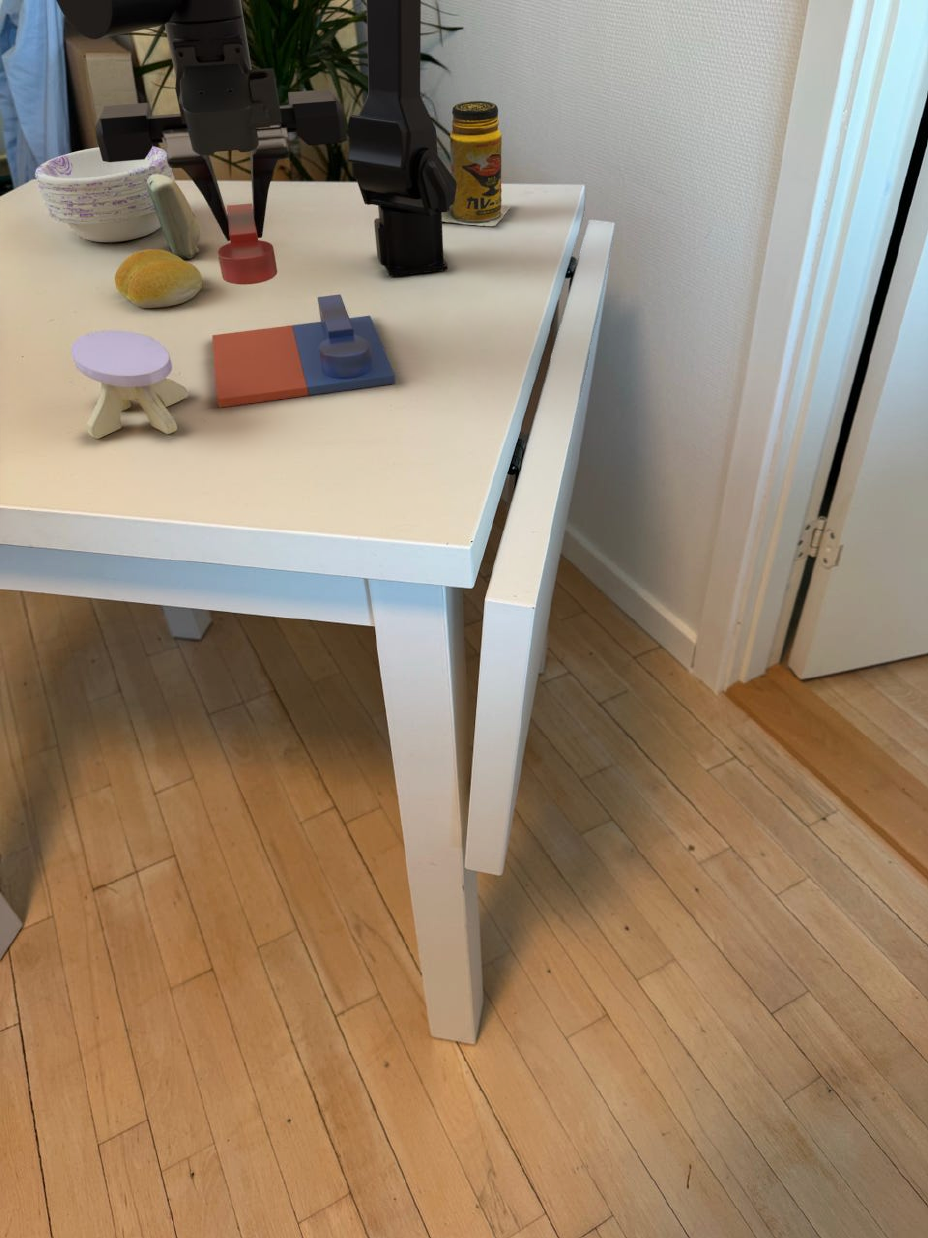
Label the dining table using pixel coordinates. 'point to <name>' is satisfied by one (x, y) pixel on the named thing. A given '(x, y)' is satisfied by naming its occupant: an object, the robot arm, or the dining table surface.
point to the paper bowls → (102, 194)
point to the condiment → (476, 165)
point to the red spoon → (245, 250)
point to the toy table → (127, 378)
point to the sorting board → (287, 363)
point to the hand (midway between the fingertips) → (244, 237)
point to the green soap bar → (174, 216)
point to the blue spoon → (341, 342)
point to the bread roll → (157, 279)
